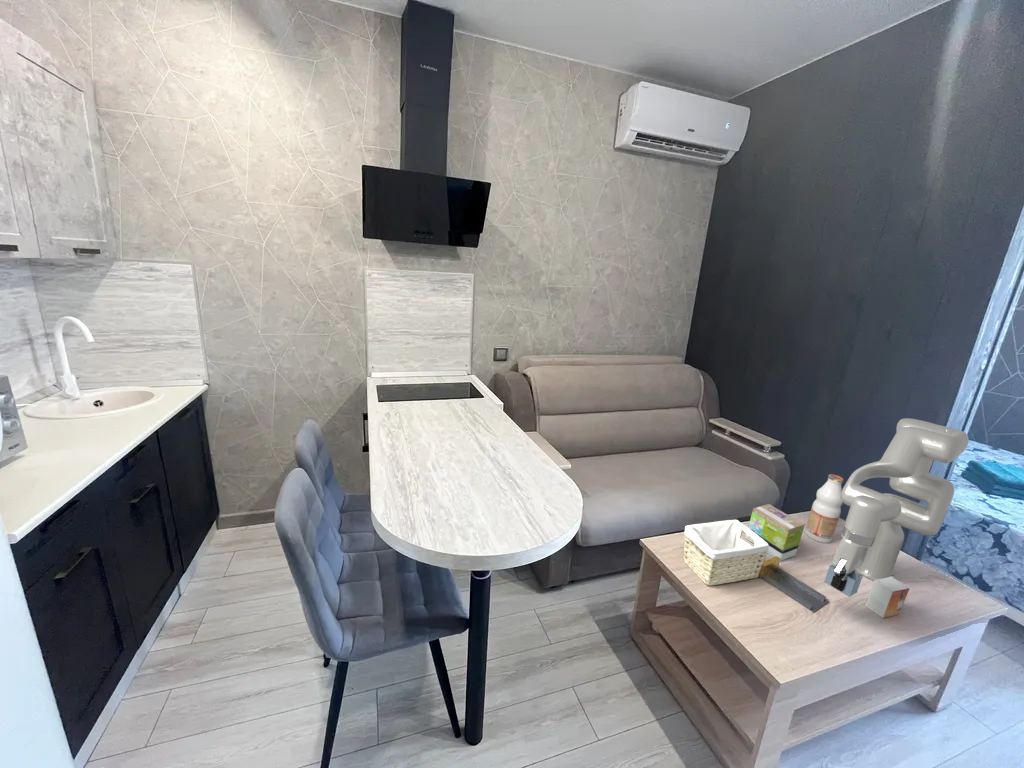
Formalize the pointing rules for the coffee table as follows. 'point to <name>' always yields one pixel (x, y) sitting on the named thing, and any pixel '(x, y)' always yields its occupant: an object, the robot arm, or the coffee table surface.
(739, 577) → the storage basket
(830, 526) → the fruit juice
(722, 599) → the coffee table surface
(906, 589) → the small box
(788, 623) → the coffee table surface
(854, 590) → the block
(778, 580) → the dock
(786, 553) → the tea box
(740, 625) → the coffee table surface
